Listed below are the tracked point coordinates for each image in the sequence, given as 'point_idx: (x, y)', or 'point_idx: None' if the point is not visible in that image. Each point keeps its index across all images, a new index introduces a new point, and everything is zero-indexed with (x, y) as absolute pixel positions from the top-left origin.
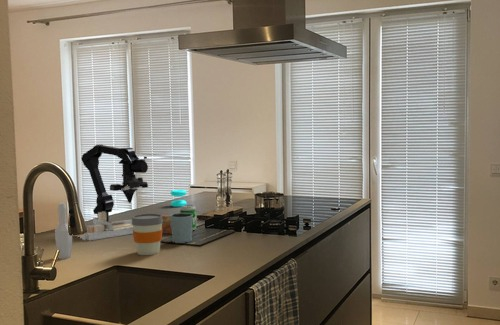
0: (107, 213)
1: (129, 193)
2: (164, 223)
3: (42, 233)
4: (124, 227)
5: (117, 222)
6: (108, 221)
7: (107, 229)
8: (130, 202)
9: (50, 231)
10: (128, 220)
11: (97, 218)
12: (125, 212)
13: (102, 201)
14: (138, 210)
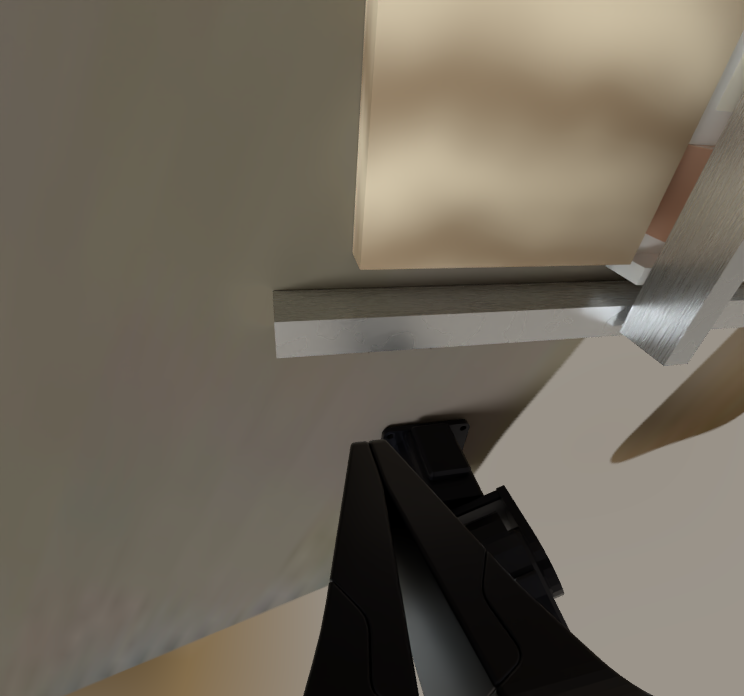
0: (440, 499)
1: (503, 677)
2: None
3: (738, 409)
4: (532, 27)
5: (444, 312)
6: (417, 440)
7: (696, 88)
8: (361, 442)
9: (687, 430)
10: (323, 319)
11: (703, 313)
12: (143, 660)
13: (556, 606)
14: (44, 685)
